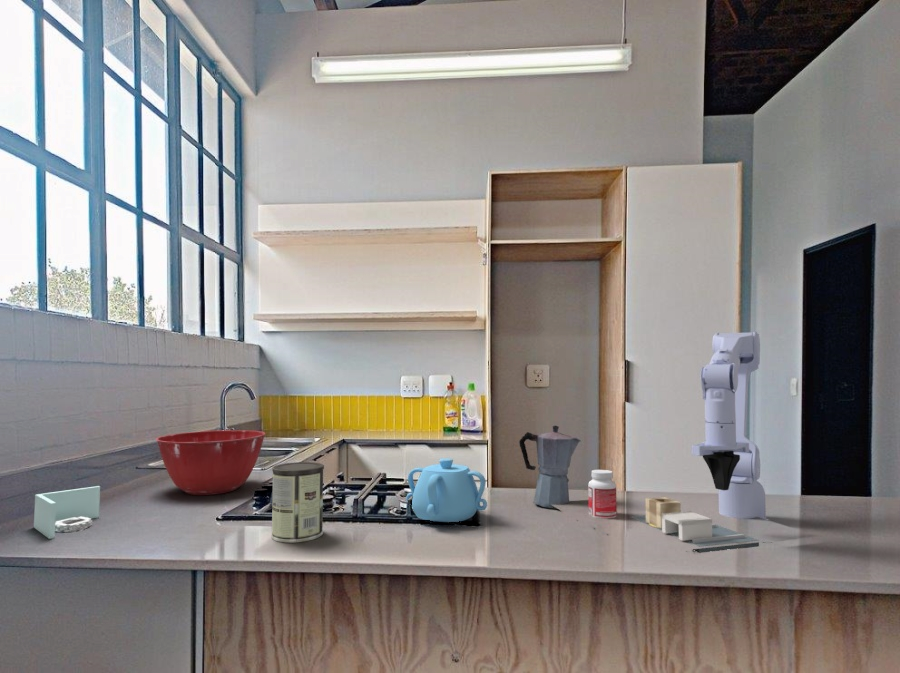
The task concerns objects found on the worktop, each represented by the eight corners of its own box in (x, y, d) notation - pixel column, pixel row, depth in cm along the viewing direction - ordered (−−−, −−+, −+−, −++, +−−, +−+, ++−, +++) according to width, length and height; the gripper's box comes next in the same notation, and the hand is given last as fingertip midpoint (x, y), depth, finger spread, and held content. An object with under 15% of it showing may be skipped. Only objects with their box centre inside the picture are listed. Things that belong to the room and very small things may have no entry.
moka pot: (585, 510, 136) (584, 427, 137) (522, 509, 136) (521, 427, 137) (576, 501, 145) (576, 423, 147) (517, 500, 146) (517, 423, 147)
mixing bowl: (129, 499, 145) (131, 439, 146) (196, 478, 173) (198, 428, 174) (229, 504, 140) (231, 442, 141) (281, 481, 168) (282, 430, 169)
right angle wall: (49, 541, 111) (50, 503, 112) (33, 530, 119) (35, 494, 119) (115, 529, 120) (117, 493, 121) (97, 519, 128) (98, 485, 128)
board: (681, 517, 130) (681, 499, 130) (758, 546, 108) (758, 524, 109) (629, 521, 125) (629, 503, 126) (699, 552, 104) (698, 529, 105)
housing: (690, 529, 115) (690, 511, 115) (712, 537, 109) (711, 518, 109) (662, 531, 113) (661, 513, 113) (682, 540, 107) (682, 521, 107)
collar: (665, 520, 122) (664, 497, 122) (681, 526, 117) (680, 502, 117) (645, 521, 120) (645, 498, 121) (660, 528, 116) (660, 503, 116)
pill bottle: (622, 521, 126) (621, 471, 127) (604, 525, 123) (603, 474, 123) (601, 515, 131) (600, 467, 132) (582, 519, 128) (582, 470, 128)
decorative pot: (492, 525, 123) (492, 463, 123) (422, 531, 117) (423, 466, 118) (466, 508, 138) (466, 452, 139) (403, 513, 133) (403, 455, 133)
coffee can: (290, 526, 121) (292, 460, 122) (332, 531, 117) (333, 463, 118) (259, 539, 111) (261, 468, 112) (304, 545, 108) (305, 471, 109)
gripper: (727, 419, 121) (729, 482, 121) (679, 421, 115) (680, 488, 115) (757, 422, 115) (759, 489, 114) (707, 425, 109) (709, 495, 108)
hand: (721, 489), depth 114 cm, fingers closed
